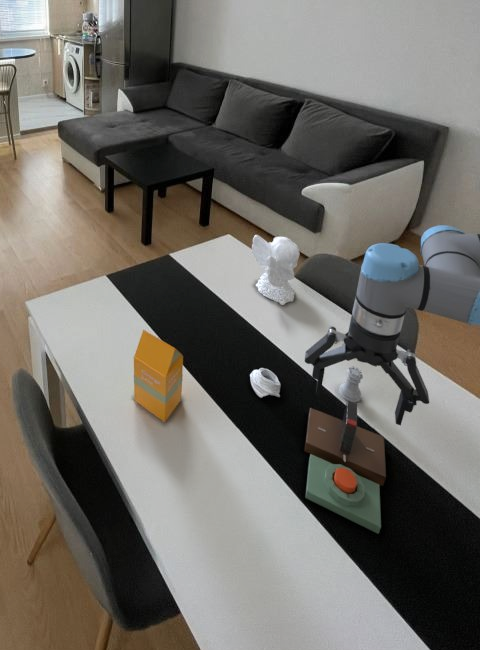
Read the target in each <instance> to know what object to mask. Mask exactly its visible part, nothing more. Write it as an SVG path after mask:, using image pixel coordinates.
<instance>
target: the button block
mask: <svg viewBox="0 0 480 650" xmlns="http://www.w3.org/2000/svg"><path fill="white" fill-rule="evenodd" d="M338 468H345V469H347V470H349V471H350V472H352V473H353V474H354V476H355V477H356V480H357V485H356V489H355V491H354V492H353V493H350V494H349V493H345V492H343V491H341V490H340V489H339V488H338V487H337V486H336V484H335V482H334V475H335V471H336V470H337V469H338ZM380 489H381V488H380V485H379V484H377V483H375V482H372V481H370V480H368V479H366V478H363V477H361V476H359V475H357V474H356V473H354V472H353V471H352V470H351V469H350V468H348V467H345V466H343V465H341V464H332V463H330V462H327V461H325V460H323V459H321V458H319V457H316V456H314V455H312V454H309V459H308V466H307V477H306V487H305V499H307V500H309V501H311V502H313V503H315V504H317V505H319V506H321V507H323V508H325V509H327V510H329V511H331V512H333V513H335V514H337V515H339V516H341V517H342V518H345V519H346V520H349V521H351V522H353V523H354V524H357V525H360V526H361V527H364V528H366V529H368V530H369V531H371V532H373V533H376V534H377V535H379V534H380V531H381V529H382V517H381V516H382V515H381V513H382V512H381V496H380V495H381V492H380V491H381V490H380Z"/></svg>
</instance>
